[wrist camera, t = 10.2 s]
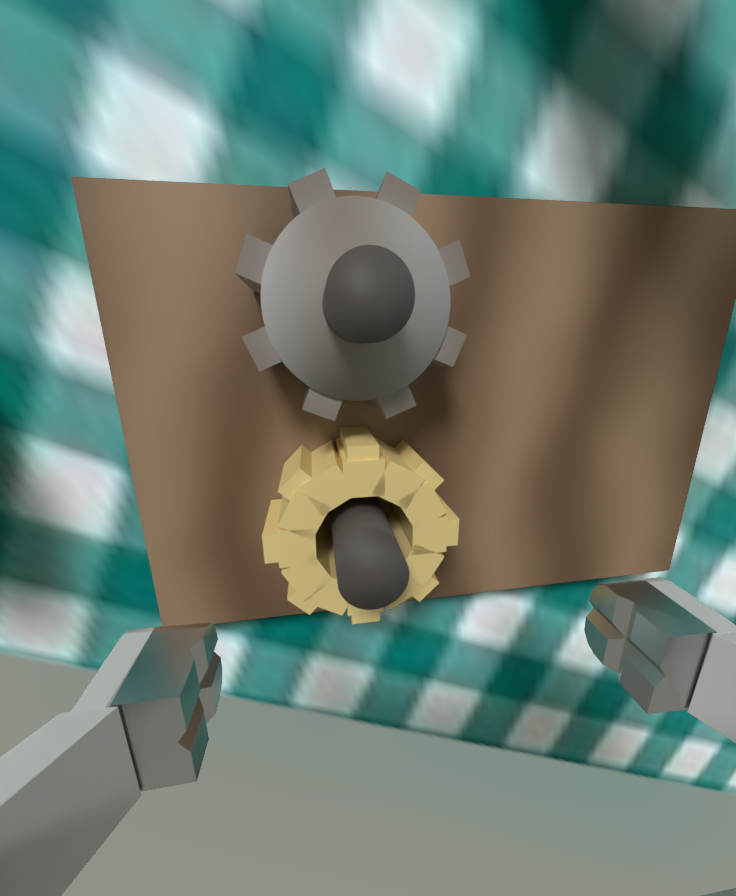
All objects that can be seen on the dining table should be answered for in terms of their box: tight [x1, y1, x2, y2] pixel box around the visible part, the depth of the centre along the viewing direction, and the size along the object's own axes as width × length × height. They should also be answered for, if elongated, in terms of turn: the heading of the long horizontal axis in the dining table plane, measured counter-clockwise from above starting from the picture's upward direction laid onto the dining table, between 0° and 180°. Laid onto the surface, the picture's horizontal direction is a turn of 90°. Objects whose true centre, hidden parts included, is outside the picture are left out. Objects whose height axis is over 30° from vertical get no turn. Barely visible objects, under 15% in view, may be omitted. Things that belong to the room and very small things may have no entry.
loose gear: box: [262, 426, 459, 624], centre depth 13 cm, size 6×6×3 cm
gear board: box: [71, 168, 736, 626], centre depth 13 cm, size 24×16×6 cm, turn 91°
